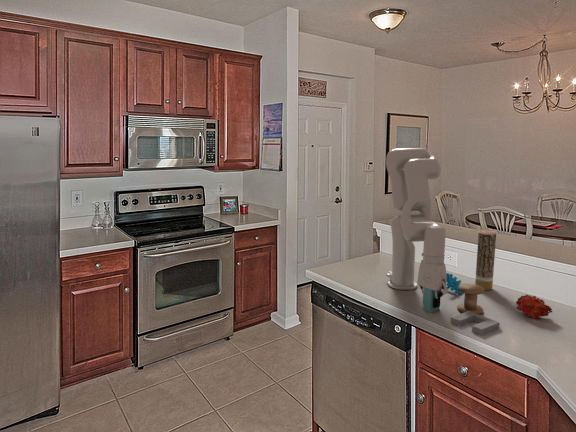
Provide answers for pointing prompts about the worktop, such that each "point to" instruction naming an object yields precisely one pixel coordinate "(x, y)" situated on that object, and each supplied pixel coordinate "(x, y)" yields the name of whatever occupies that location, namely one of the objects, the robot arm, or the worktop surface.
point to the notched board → (483, 322)
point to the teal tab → (429, 300)
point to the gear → (453, 283)
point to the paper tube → (485, 258)
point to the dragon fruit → (533, 306)
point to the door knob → (470, 298)
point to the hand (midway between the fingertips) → (431, 304)
